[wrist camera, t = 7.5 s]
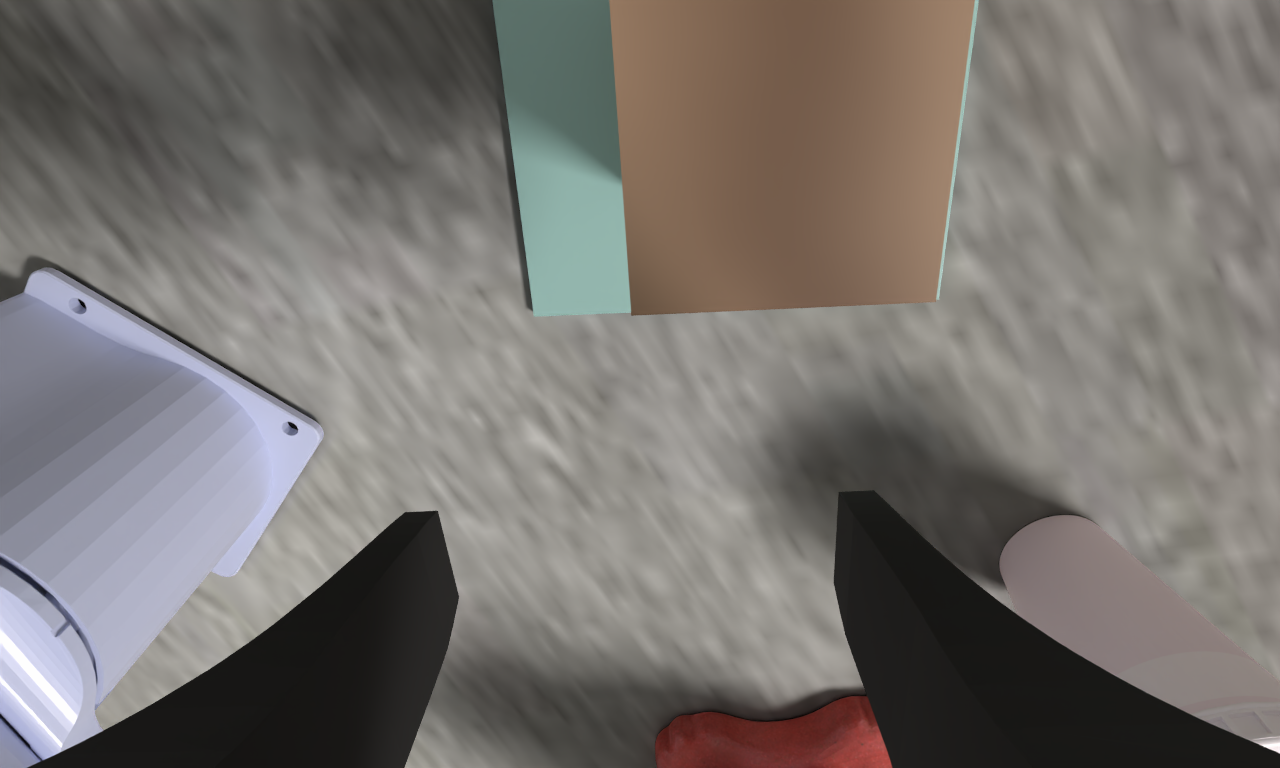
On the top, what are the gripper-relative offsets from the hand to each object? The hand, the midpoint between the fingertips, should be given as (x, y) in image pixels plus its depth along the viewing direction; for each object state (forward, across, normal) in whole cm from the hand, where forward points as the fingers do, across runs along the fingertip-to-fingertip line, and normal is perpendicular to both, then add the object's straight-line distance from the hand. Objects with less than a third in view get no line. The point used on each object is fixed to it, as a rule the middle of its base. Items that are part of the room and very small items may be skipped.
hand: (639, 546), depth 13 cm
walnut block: (+6, -3, -6) cm, 9 cm away
